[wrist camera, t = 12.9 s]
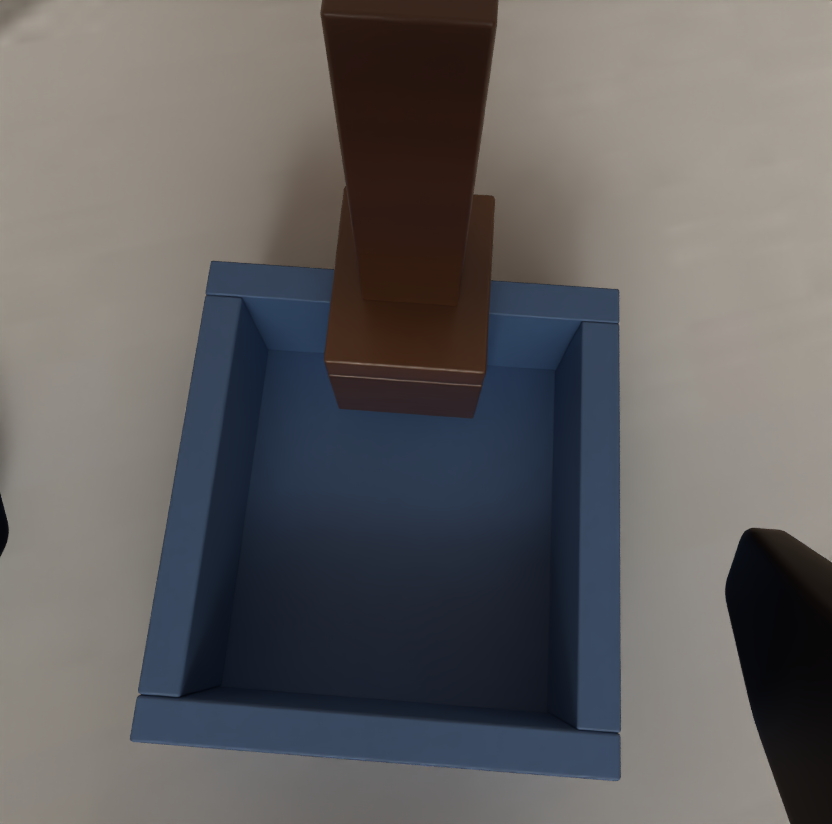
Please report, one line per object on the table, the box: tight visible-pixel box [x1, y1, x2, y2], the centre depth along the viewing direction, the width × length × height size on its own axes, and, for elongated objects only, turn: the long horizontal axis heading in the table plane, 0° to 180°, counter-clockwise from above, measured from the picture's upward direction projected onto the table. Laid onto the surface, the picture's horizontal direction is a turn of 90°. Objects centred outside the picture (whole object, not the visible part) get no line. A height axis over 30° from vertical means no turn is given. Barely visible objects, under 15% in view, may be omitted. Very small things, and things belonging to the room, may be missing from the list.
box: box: [130, 261, 621, 781], centre depth 20 cm, size 12×11×4 cm
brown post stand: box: [321, 0, 498, 419], centre depth 16 cm, size 5×4×13 cm
